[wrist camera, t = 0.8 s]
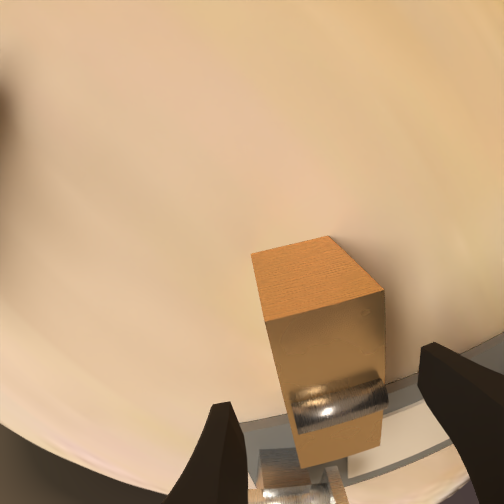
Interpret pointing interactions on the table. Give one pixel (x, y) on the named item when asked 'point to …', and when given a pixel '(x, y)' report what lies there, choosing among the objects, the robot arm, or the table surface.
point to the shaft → (293, 481)
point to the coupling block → (325, 346)
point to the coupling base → (393, 428)
